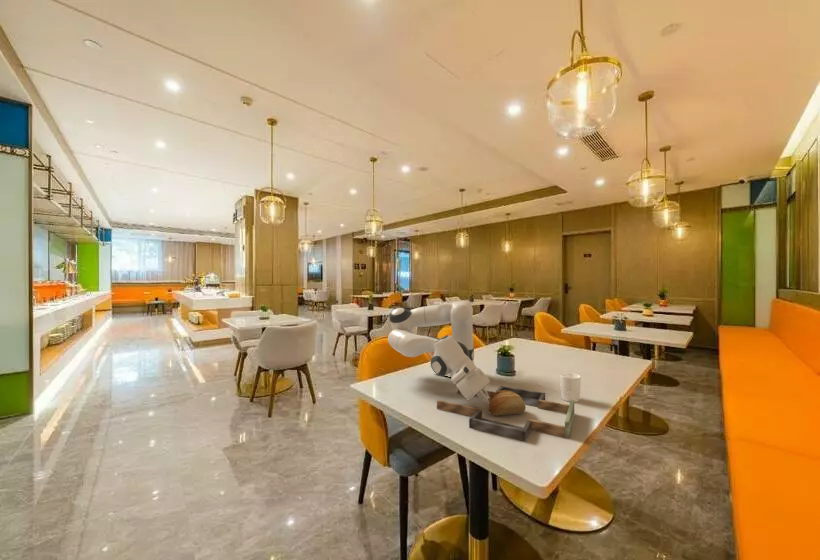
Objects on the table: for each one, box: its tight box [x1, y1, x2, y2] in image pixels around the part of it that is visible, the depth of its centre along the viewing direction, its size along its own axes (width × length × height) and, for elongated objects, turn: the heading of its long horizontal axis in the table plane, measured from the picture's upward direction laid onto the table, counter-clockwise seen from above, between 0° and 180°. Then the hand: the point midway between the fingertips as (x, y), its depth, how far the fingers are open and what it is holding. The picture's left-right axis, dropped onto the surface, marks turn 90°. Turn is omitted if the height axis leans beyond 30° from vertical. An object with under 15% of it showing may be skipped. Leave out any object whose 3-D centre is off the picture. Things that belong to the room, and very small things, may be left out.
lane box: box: [436, 385, 575, 442], centre depth 122 cm, size 47×39×5 cm
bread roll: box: [487, 390, 526, 416], centre depth 120 cm, size 10×15×8 cm, turn 109°
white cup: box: [559, 372, 582, 403], centre depth 133 cm, size 8×8×10 cm
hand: (488, 401), depth 121 cm, fingers closed
